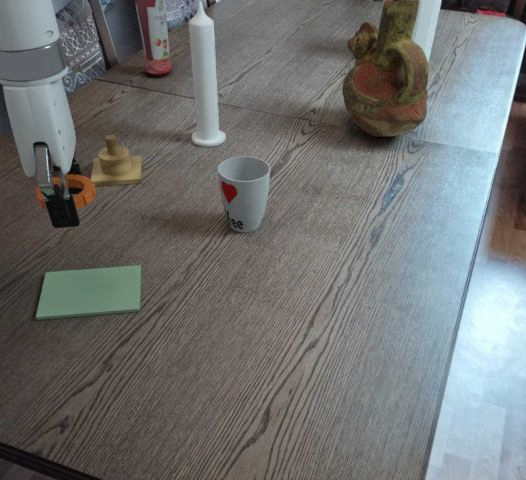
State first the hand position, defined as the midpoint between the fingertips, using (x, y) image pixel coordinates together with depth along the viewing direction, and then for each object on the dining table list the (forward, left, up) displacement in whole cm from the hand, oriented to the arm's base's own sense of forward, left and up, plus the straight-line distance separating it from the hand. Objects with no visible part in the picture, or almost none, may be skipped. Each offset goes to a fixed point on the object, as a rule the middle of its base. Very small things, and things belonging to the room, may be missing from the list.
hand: (70, 208), depth 70 cm
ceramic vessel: (+56, +48, -14) cm, 75 cm away
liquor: (+10, +85, -14) cm, 86 cm away
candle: (+20, +47, -14) cm, 53 cm away
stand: (+2, +35, -14) cm, 37 cm away
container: (+75, +89, -14) cm, 117 cm away
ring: (0, 0, +2) cm, 2 cm away
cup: (+24, +15, -14) cm, 31 cm away
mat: (0, 0, -14) cm, 14 cm away
